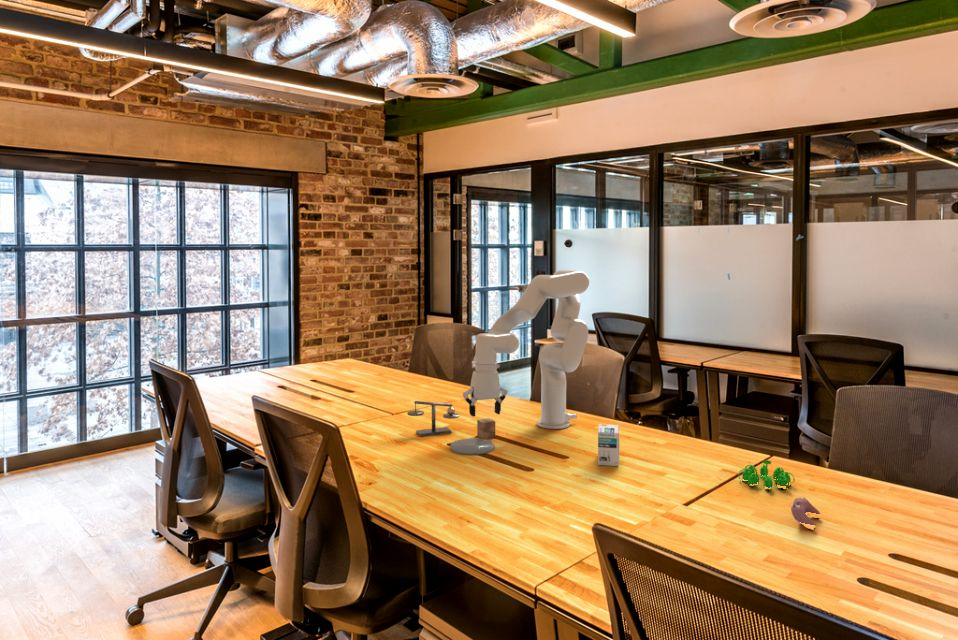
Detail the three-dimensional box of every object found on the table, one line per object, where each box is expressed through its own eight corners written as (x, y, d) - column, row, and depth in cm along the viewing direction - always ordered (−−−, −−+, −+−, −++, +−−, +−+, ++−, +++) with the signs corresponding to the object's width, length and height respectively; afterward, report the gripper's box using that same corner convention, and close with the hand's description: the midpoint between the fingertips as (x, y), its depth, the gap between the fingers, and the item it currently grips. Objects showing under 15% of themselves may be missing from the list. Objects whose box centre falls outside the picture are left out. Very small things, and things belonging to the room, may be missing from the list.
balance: (455, 428, 256) (455, 395, 254) (461, 432, 250) (461, 398, 249) (405, 433, 248) (405, 400, 247) (410, 438, 243) (410, 403, 241)
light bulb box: (619, 466, 211) (619, 433, 210) (597, 465, 212) (597, 432, 211) (618, 456, 221) (619, 424, 220) (598, 455, 222) (598, 423, 221)
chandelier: (740, 490, 190) (741, 467, 190) (736, 473, 205) (737, 451, 204) (798, 496, 186) (799, 472, 185) (790, 478, 200) (791, 455, 200)
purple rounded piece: (804, 521, 172) (792, 495, 174) (822, 517, 170) (810, 490, 171) (798, 535, 164) (785, 507, 165) (816, 530, 162) (803, 503, 163)
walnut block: (489, 434, 248) (489, 418, 247) (495, 437, 243) (495, 421, 242) (477, 435, 246) (477, 419, 245) (482, 439, 241) (482, 422, 241)
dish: (483, 439, 240) (483, 436, 240) (501, 451, 227) (501, 448, 226) (444, 444, 234) (444, 441, 234) (459, 457, 221) (459, 453, 221)
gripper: (503, 365, 248) (502, 410, 250) (459, 367, 242) (459, 414, 243) (512, 368, 242) (511, 415, 243) (467, 370, 235) (466, 419, 236)
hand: (485, 414), depth 243 cm, fingers open, 9 cm apart
